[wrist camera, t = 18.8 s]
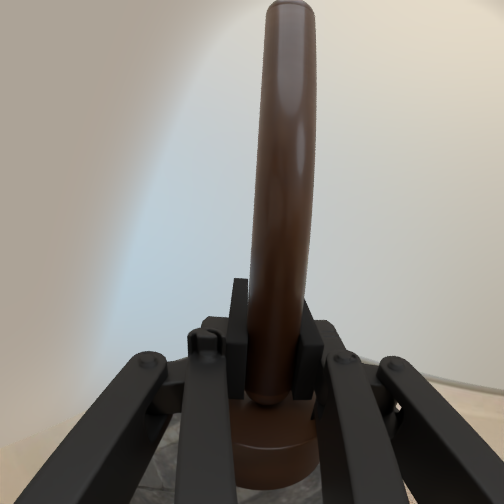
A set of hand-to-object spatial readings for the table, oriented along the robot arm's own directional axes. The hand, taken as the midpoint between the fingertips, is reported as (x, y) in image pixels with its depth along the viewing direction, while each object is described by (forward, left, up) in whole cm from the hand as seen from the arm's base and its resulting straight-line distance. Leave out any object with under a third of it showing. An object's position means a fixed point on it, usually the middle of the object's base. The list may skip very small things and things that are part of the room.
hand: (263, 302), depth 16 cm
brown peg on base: (+2, -6, -5) cm, 8 cm away
